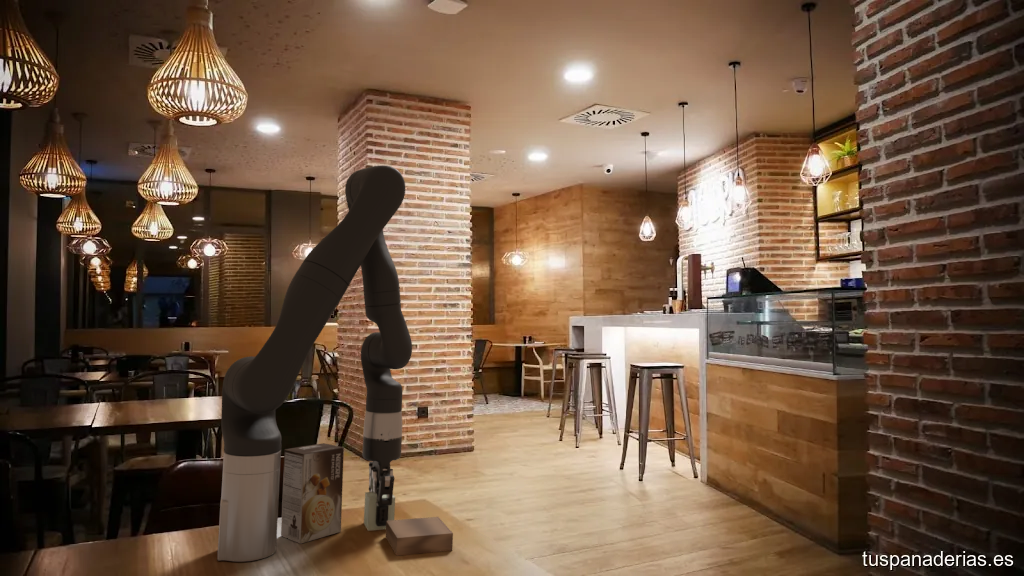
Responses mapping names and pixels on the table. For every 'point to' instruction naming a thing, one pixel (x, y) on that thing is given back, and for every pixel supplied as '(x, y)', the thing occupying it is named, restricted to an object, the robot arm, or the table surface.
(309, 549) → the table surface
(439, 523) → the walnut plinth
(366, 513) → the sage block
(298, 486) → the coffee box
